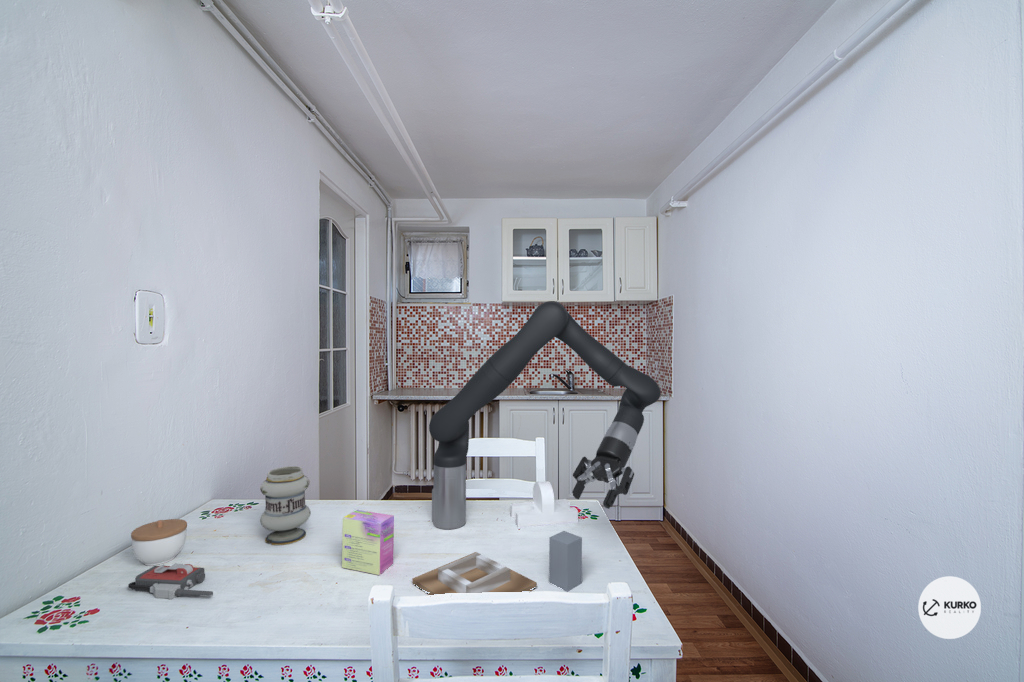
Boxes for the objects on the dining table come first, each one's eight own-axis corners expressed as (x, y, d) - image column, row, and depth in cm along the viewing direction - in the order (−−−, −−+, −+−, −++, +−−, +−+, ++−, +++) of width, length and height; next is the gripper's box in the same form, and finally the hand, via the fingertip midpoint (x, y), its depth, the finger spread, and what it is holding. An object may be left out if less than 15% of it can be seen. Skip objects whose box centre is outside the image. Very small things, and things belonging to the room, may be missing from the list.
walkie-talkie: (117, 598, 96) (208, 603, 94) (117, 576, 96) (208, 581, 94) (154, 576, 105) (238, 581, 103) (154, 556, 105) (238, 561, 103)
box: (394, 564, 110) (394, 514, 110) (379, 576, 104) (379, 523, 104) (357, 557, 113) (357, 509, 113) (341, 568, 108) (341, 517, 108)
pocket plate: (412, 584, 101) (412, 566, 101) (475, 556, 114) (475, 541, 114) (471, 624, 87) (471, 604, 87) (536, 588, 99) (536, 570, 99)
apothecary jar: (249, 542, 121) (249, 473, 121) (287, 525, 132) (287, 462, 132) (283, 550, 117) (284, 479, 117) (320, 532, 128) (320, 466, 128)
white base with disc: (566, 511, 145) (566, 475, 145) (577, 523, 135) (578, 485, 135) (509, 515, 141) (510, 479, 141) (517, 528, 131) (517, 489, 131)
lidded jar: (182, 545, 119) (182, 509, 119) (191, 559, 112) (191, 520, 112) (128, 559, 112) (128, 520, 112) (134, 575, 104) (133, 533, 104)
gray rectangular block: (549, 583, 102) (549, 537, 102) (563, 575, 105) (563, 530, 105) (567, 592, 98) (567, 544, 98) (581, 583, 102) (581, 537, 102)
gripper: (587, 431, 119) (559, 486, 111) (637, 440, 109) (610, 500, 101) (599, 448, 123) (572, 502, 115) (649, 458, 113) (623, 518, 105)
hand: (590, 501), depth 108 cm, fingers open, 8 cm apart
